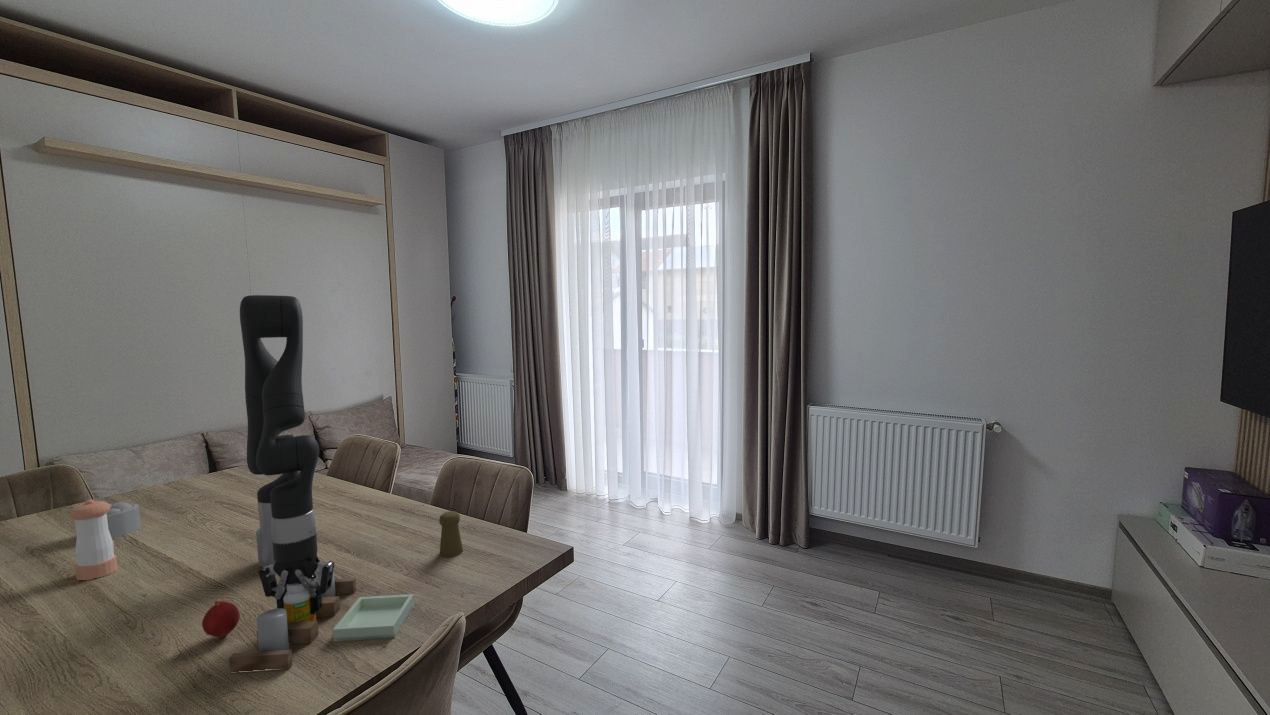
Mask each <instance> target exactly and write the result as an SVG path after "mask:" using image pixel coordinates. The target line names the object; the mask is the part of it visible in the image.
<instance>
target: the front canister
mask: <svg viewBox="0 0 1270 715" xmlns="http://www.w3.org/2000/svg"><path fill="white" fill-rule="evenodd" d="M255 620H256V628H257V629H256V630H257V631H256V633H257V632H258V639H257V645H258V644H259V646H258V652H262V651H278V650H290V644H289V640H288V627H287V614H286V610H285V609H283V608H277V607H276V608H273V609H270V610H267V611H264V612H262V613H260V614H259V615H258V616H257V617H256V619H255Z"/></svg>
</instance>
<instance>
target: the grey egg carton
mask: <svg viewBox="0 0 1270 715" xmlns="http://www.w3.org/2000/svg"><path fill="white" fill-rule="evenodd" d="M108 504H109V505H110V510H109V512H108V513H106V514H107V522H108V529H109V532H110V535H111V538H113V539H116V538H115V537H117V538H120V537H123V536H122V535H124V536H126V535H125V534H127V535H129V534H132V533H133V531H134V532H136V531H138V530H139V529H141V526H142V525H141V524H142V523H141V515H140V508H139V504H138V503H134V502H131V503H128V502H126V501H119V502H115V503H113V504H111V503H108ZM137 529H138V530H137ZM135 530H136V531H135ZM131 532H132V533H131ZM128 533H129V534H128ZM119 536H120V537H119Z"/></svg>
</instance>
